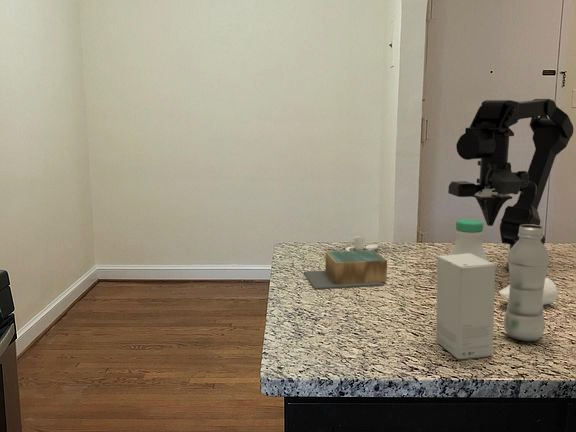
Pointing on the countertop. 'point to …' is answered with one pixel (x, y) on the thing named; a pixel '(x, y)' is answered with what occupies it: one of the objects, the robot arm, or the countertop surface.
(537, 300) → the plastic bottle
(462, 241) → the milk bottle
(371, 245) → the teacup and saucer
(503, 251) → the countertop surface
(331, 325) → the countertop surface
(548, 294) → the roll
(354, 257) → the tan and teal block
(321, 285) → the mat
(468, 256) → the skincare box
